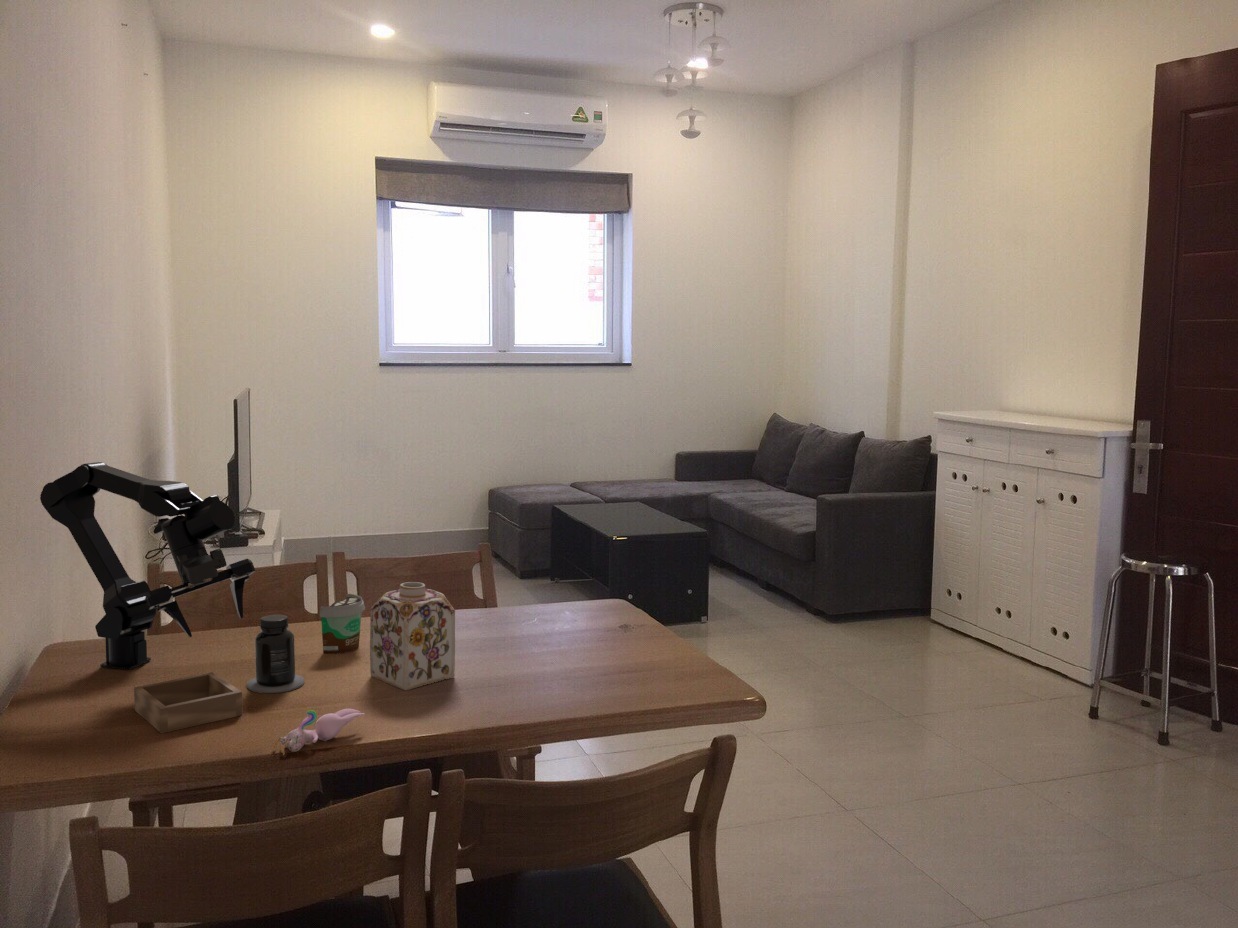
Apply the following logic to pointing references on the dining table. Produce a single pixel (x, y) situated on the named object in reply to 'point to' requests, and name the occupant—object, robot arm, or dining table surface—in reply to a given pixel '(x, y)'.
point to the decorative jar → (412, 637)
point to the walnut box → (187, 702)
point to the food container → (342, 625)
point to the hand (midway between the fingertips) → (216, 627)
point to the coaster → (255, 687)
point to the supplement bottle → (274, 652)
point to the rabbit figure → (317, 729)
